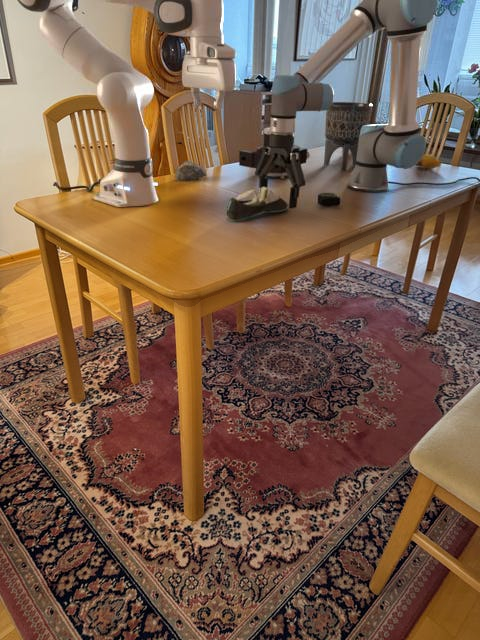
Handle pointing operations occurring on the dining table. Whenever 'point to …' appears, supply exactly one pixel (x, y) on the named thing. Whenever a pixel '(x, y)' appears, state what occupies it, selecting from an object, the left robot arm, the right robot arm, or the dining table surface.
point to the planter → (345, 129)
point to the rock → (190, 172)
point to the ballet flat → (255, 204)
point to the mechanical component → (253, 158)
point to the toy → (428, 162)
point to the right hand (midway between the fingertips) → (277, 203)
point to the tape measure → (328, 199)
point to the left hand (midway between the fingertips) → (207, 107)
